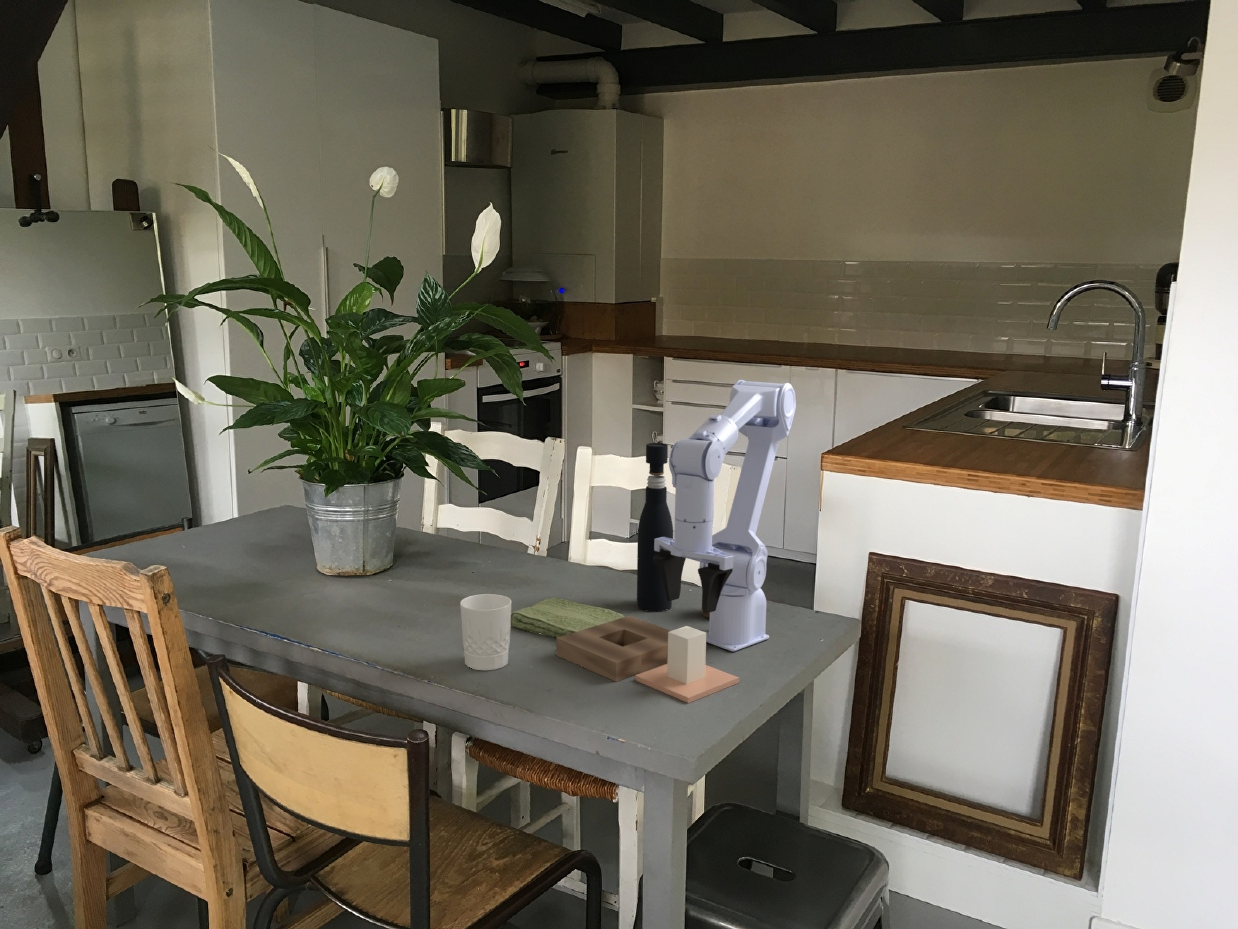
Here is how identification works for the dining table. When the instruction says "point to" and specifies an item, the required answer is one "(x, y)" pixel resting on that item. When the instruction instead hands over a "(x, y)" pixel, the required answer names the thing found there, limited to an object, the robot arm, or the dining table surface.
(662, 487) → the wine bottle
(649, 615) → the dining table surface
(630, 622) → the brown board with hole
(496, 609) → the white cup
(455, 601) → the dining table surface
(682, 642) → the plug
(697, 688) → the tile
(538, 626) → the washcloth
